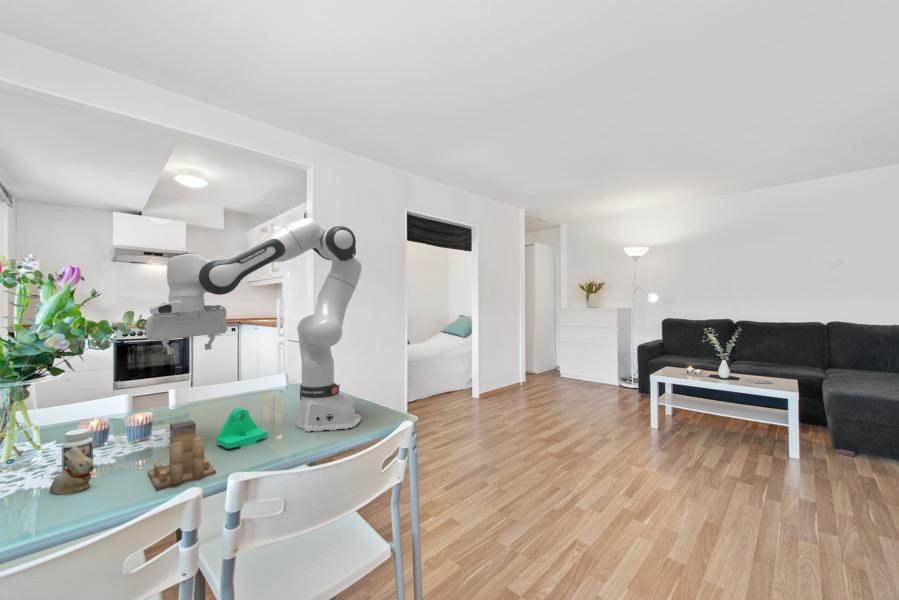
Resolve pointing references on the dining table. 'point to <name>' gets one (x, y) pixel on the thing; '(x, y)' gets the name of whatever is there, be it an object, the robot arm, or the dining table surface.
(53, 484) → the chocolate bunny
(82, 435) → the pill bottle
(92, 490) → the dining table surface
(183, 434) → the brown tall rectangular block
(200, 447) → the wooden twin towers
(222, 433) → the camera mount
